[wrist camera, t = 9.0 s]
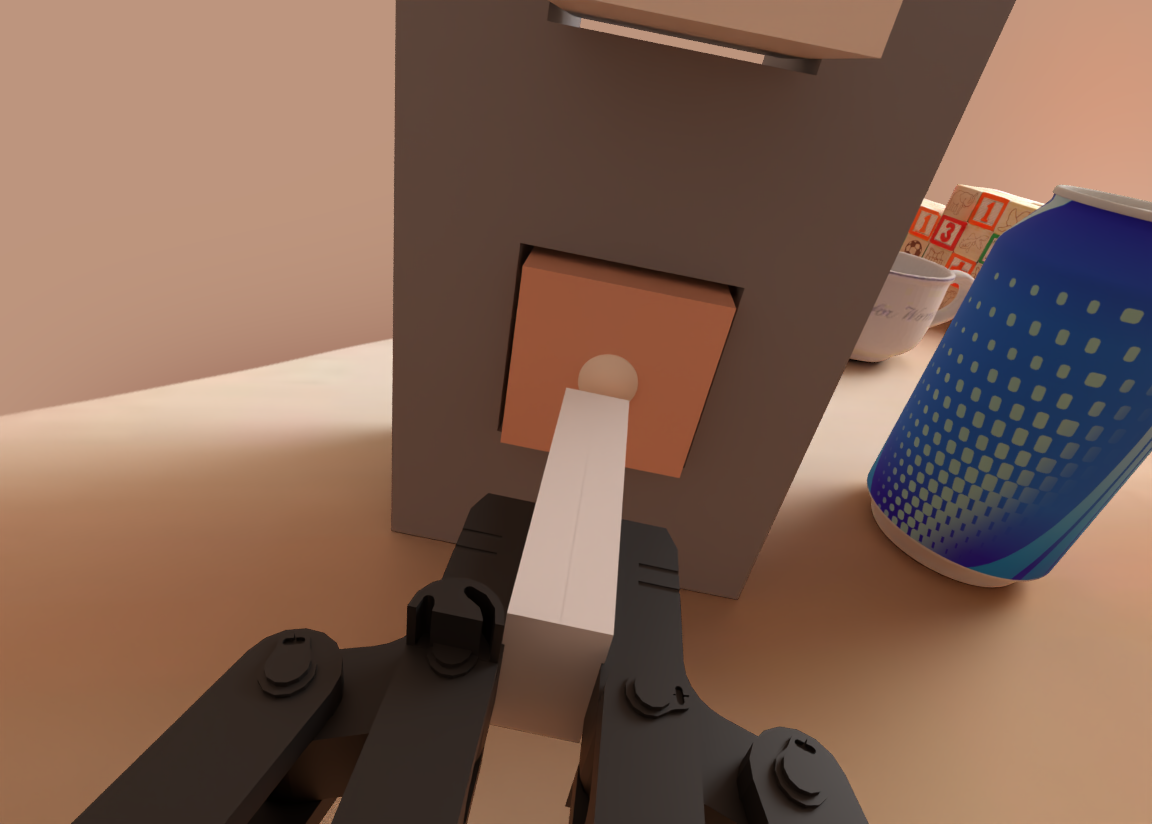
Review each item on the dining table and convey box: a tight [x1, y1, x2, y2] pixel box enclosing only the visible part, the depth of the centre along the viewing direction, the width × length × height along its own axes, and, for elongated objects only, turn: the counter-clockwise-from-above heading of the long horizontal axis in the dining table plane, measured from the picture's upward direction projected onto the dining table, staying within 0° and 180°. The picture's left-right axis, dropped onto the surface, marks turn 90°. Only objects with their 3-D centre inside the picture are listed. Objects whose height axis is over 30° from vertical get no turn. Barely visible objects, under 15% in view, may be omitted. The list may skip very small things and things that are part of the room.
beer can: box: [867, 185, 1152, 587], centre depth 25 cm, size 8×8×16 cm
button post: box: [391, 0, 1016, 600], centre depth 20 cm, size 8×14×27 cm, turn 84°
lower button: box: [501, 246, 736, 478], centre depth 21 cm, size 8×6×6 cm
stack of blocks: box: [899, 184, 1044, 320], centre depth 64 cm, size 21×6×12 cm, turn 20°
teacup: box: [850, 252, 974, 362], centre depth 48 cm, size 14×11×8 cm
